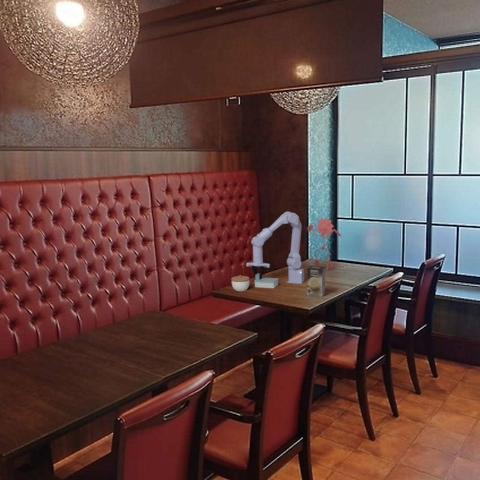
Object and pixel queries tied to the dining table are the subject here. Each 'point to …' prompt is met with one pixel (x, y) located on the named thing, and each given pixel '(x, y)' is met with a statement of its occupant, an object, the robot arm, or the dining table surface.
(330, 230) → the red flower sprig
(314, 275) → the coffee box
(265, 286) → the tub
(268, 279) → the lid
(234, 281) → the lidded jar
